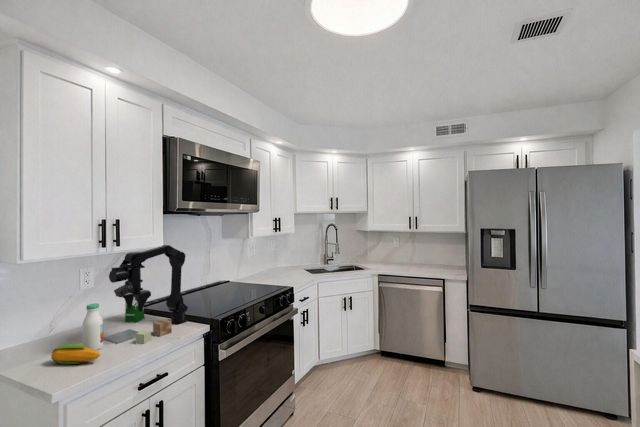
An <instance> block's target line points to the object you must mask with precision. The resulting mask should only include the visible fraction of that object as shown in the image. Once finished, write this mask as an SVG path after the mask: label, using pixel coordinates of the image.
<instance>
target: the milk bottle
mask: <svg viewBox="0 0 640 427" xmlns="http://www.w3.org/2000/svg"><path fill="white" fill-rule="evenodd" d="M85 307H86V314H85V317H84V318H83V321H82V326H81V327H82V328H81V329H82V331H81V332H82V333H81V334H82V335H81V338H82V339H81V340H82V341H81V342H82V343H81V345H85V346H86V347H84V348H89V349H93V350H96V351H99V350H101V349H102V348H103V347H104V339H103V337H104V319H103V318H102V315H101V314H100V311H99V309H100V303H90V304H87V305H86V306H85Z"/></svg>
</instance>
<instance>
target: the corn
mask: <svg viewBox="0 0 640 427" xmlns="http://www.w3.org/2000/svg"><path fill="white" fill-rule="evenodd" d="M84 347H86V346H85V345H82V343H81V344H80V343H79V344H76V343H69V344H63V345H60V346H58V347H56V348H54V349H53V350H52V352H51V355H50V356H51V360H52V361H54V362H55V363H56V364H62V365H63V364H64V365H67V364H68V365H79V364H82V363H83V362H88V361H92V360H95V359H98V358H99V357H100V356H101V352H99V350H93V349H89V348H84Z"/></svg>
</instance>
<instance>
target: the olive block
mask: <svg viewBox="0 0 640 427" xmlns="http://www.w3.org/2000/svg"><path fill="white" fill-rule="evenodd" d="M138 332H139V333H137V334H136V338H135V344H136V343H137V344H138V345H145V344H147V343H149V342H151V341H152V331H151V330H141V331H138ZM137 344H136V345H137Z"/></svg>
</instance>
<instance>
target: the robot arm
mask: <svg viewBox="0 0 640 427" xmlns="http://www.w3.org/2000/svg"><path fill="white" fill-rule="evenodd" d="M160 255H165V256H166V257H167V258H168V262H169V265H170V267H171V277H170V278H171V280H170V282H171V284H170V294H169V296H166V298H165V299H166V303H165V305H166V307H167V309H168V311H169V312H171V316H170V321H171V324H172V325H173V324H174V325H180V324H183V323H186V322H188V320H187V319H186V312H188V306H187V305H186V304H185V303H184V297H183V294H182V291H181V290H182V268H183V266H184V264H185V261H186V253H185V252H184V251H181V250H178V249H177V248H175V247H173V246H172V245H169V244H163V245H162V246H158V247H154V248H150V249H148V250H147V249H146V250H144V251H133V252H132V251H131V252H128V253H126V254H125V256H124V259H123V260H122V262H121V264H120V265H119V266H117V267H111V270H110V271H109V274H108V279H109V281H110V282H111V284H113V283H118V282H123V281H124V284H123V285H121V286H119V287H117V288H116V289H114V290H113V292H114V295H115V296H116V297H118V298H122V299H124V301H126V304H127V307H128V309H131V307H132V303H133V299H134V297H135V298H136V299H135V300H136V301H137V304H138V310H139V312H141V311H142V309H143V307H144V308H145V304H146V303H147V301H148V299H149V298H151V296H152V292H151V290H147V289H145V290H143V288H144V287H142V283H143V282H144V281H143V279H141V278H142V275H141V274H142V271H141V269H143V268H146V266H145V265H143V264H142V263H144V262H145V261H147V260H148V259H149V260H150V259H152V258H154V257H158V256H160ZM141 290H143V291H141Z"/></svg>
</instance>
